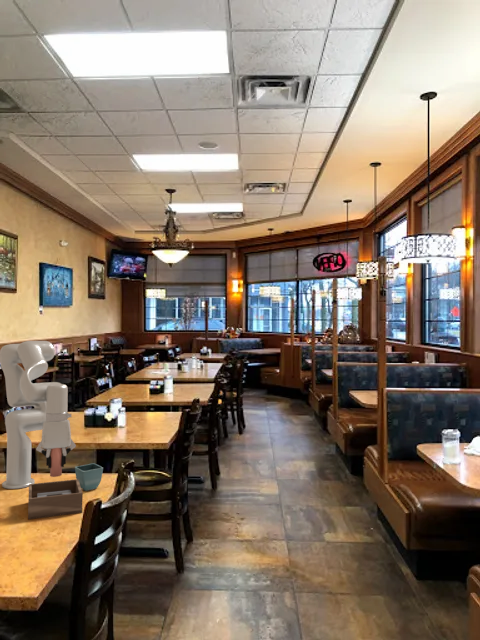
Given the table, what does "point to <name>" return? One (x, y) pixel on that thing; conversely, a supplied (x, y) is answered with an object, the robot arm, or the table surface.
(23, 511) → the table surface
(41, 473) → the table surface
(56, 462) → the peg
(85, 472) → the flower pot
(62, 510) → the open box
